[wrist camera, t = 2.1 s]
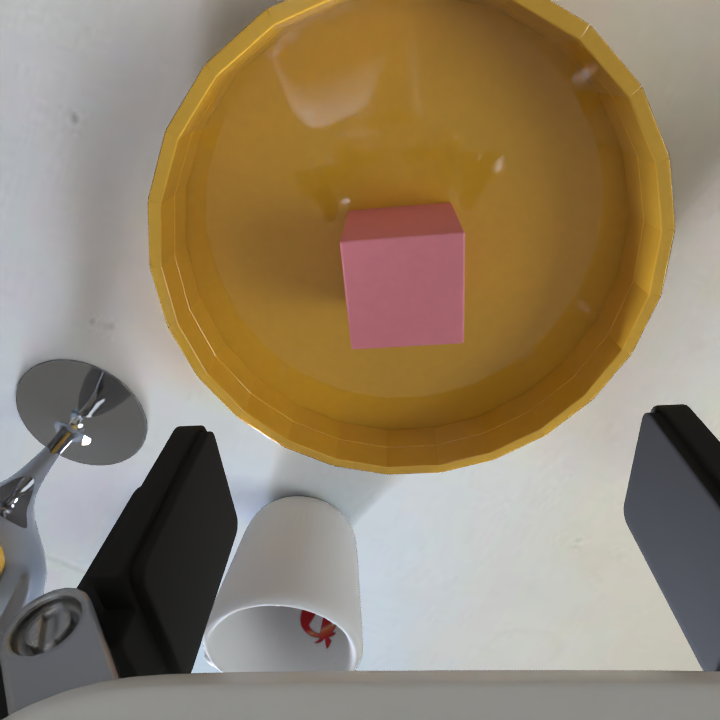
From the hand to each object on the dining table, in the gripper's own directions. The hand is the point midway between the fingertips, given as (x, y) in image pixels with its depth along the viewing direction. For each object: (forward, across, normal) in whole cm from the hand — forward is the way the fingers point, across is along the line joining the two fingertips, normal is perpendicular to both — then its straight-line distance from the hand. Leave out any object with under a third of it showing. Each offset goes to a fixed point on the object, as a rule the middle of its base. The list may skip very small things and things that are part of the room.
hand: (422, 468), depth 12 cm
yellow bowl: (+14, 0, 0) cm, 14 cm away
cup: (+14, +8, +18) cm, 24 cm away
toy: (+14, 0, 0) cm, 14 cm away
